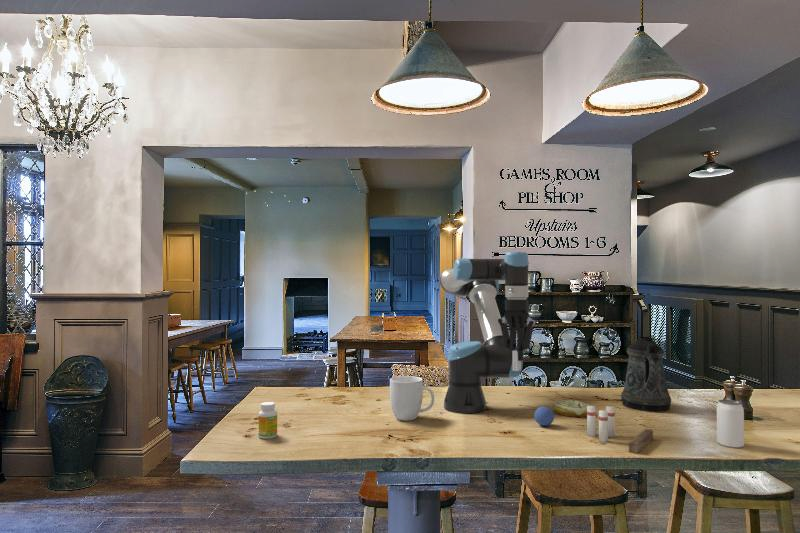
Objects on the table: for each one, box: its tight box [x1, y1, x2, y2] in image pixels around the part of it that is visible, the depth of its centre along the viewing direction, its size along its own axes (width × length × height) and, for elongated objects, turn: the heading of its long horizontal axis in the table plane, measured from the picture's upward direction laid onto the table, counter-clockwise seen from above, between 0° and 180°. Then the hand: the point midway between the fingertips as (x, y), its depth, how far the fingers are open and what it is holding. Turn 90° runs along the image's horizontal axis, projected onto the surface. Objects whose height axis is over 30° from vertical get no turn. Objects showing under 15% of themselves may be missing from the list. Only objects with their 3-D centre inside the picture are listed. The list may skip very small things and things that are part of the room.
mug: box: [389, 375, 435, 422], centre depth 173 cm, size 15×11×13 cm
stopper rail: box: [628, 428, 654, 455], centre depth 146 cm, size 2×16×2 cm, turn 140°
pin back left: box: [605, 405, 616, 438], centre depth 154 cm, size 2×2×8 cm
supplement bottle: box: [258, 401, 278, 440], centre depth 154 cm, size 5×5×10 cm
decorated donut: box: [553, 399, 590, 418], centre depth 179 cm, size 11×12×4 cm
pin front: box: [586, 405, 597, 437], centre depth 155 cm, size 2×2×8 cm
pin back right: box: [598, 409, 609, 443], centre depth 150 cm, size 2×2×8 cm
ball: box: [534, 405, 555, 427], centre depth 165 cm, size 6×6×6 cm
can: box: [716, 399, 745, 449], centre depth 147 cm, size 6×6×12 cm
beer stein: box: [620, 336, 672, 413], centre depth 188 cm, size 16×19×25 cm
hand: (516, 370), depth 171 cm, fingers closed
